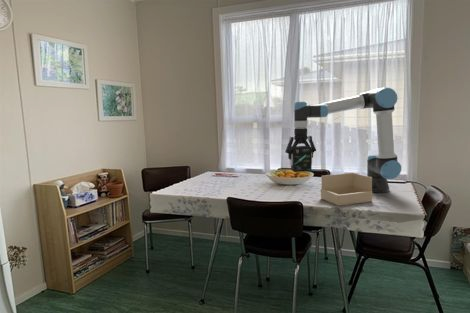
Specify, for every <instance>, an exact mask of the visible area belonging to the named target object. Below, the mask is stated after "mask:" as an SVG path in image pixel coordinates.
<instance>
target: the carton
mask: <svg viewBox="0 0 470 313" xmlns="http://www.w3.org/2000/svg"><path fill="white" fill-rule="evenodd" d="M320 199H321V200H323V201H326V202H328V203H330V204H333V205H335V206H338V207H342V206H348V205H354V204H355V205H356V204H363V203H370V202H373V192H372V177H368V176H367V175H364V174H360V173H355V172H347V173H338V174H337V173H336V174H328V175H327V174H326V175H321V188H320Z"/></svg>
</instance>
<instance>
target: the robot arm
mask: <svg viewBox="0 0 470 313" xmlns="http://www.w3.org/2000/svg"><path fill="white" fill-rule="evenodd" d="M397 103H398V94H397V92H396V90H394V89H393V88H391V87H380V88H375V89H372V90H369V91H366V92H361V93H358V95H356V96H351V97H346V98H345V97H344V98H340V99H335V100H331V101H327V102H321V103H316V104H308V101H296V102H294V105H293V106H294V108H293V112H294V114H293V115H294V116H293V118H294V129H293V130H294V136H289V141H288V143H287V146H286V149H285V151H284V153H286V154H288V159H289V165H290V166H291V165H293V154H292V152H293V147H296V146H299V145H300V144H302V145H303V144H304V146H310V147H312V159H313V158H314V153H315V152H317V149H316V146H315V142H314V141H313V137H312V135H308V119H309V118H313V119H314V118H326V117H328V115H330V114H335V113H340V112H345V111H350V110H354V109H356V110H357V109H361V110H363V109H372V112H373V114H375V118H376V131H377V132H376V134H377V148H378V149H377V150H378V154H375V155H373V154H372V155H368V156H367V159H366V160H367V161H366V164H367V165H366V166H367V169H366V171H367V174H366V176H368V177H372V193H388V192H390V185H389V183H388V180H394V179H396V178H398V177H399V175H401V172H402V165H401V163H400V162H399V161H398V155H397V154H396V153H395V146H394V145H395V144H394V126H393V112H394V111H395V105H396V104H397ZM291 146H292V147H291ZM290 148H291V149H290Z"/></svg>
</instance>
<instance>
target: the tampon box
mask: <svg viewBox="0 0 470 313" xmlns="http://www.w3.org/2000/svg"><path fill="white" fill-rule="evenodd" d="M292 146H293V145H292ZM292 146H291V147H292ZM290 149H291V148H290ZM292 154H293V165H290V170H291V172H292V171H293V172H294V173H299V172H312V164H313V158H312V147H311V145H310V146H305V145H297V146H296V147H293V152H292Z"/></svg>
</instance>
